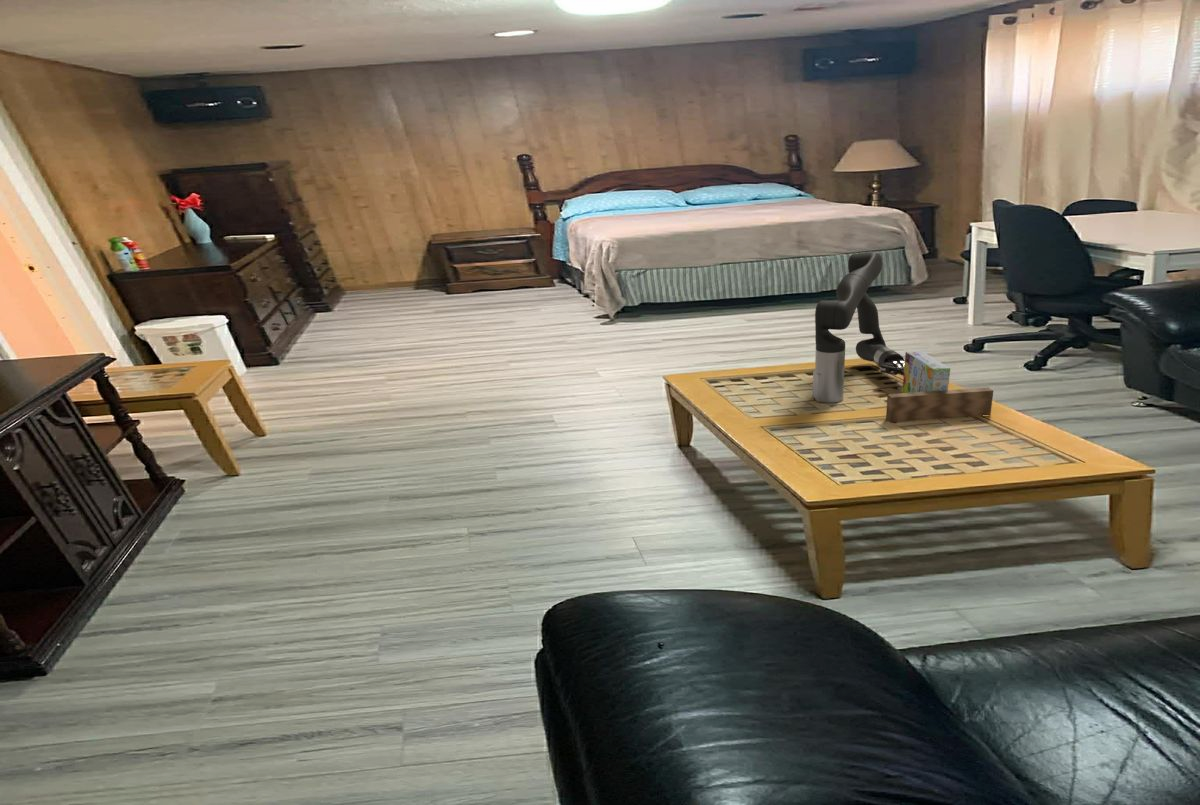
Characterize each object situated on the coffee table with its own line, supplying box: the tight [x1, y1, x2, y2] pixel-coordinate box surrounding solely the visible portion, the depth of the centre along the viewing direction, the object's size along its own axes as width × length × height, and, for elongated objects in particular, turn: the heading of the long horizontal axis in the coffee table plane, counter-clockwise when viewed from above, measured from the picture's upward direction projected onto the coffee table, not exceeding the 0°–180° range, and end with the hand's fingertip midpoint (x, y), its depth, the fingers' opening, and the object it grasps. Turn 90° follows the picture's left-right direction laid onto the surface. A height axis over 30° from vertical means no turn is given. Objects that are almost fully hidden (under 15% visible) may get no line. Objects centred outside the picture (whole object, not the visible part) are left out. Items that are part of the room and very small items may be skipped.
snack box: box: [901, 350, 951, 393], centre depth 217 cm, size 21×6×15 cm, turn 0°
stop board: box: [885, 386, 994, 423], centre depth 207 cm, size 30×3×8 cm, turn 90°
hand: (909, 374), depth 227 cm, fingers closed
